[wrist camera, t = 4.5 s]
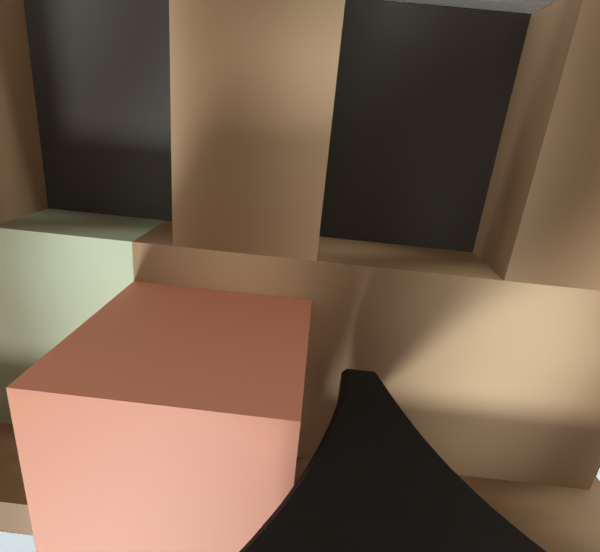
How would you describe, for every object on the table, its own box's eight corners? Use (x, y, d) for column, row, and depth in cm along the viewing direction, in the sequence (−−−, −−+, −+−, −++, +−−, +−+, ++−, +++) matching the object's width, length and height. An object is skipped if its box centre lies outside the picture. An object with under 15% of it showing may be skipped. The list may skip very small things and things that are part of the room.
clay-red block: (312, 300, 10) (300, 421, 6) (296, 444, 12) (279, 617, 8) (134, 281, 11) (5, 387, 6) (141, 425, 12) (43, 586, 8)
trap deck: (714, 33, 10) (1042, -40, 6) (552, 454, 15) (658, 609, 10) (-112, -43, 11) (-455, -171, 6) (-22, 390, 15) (-176, 510, 11)
